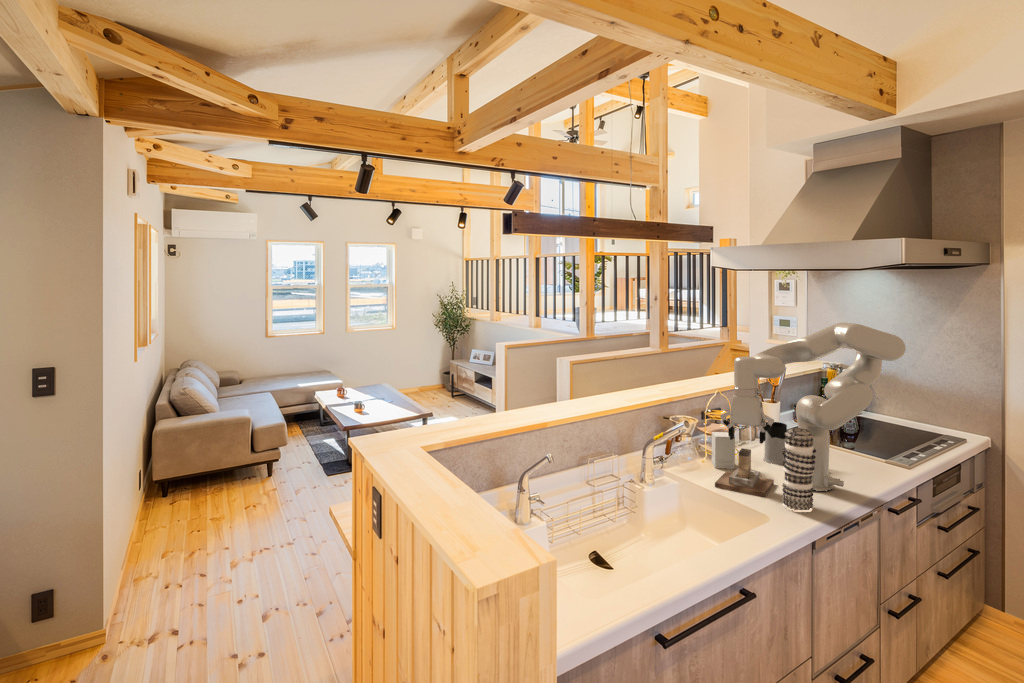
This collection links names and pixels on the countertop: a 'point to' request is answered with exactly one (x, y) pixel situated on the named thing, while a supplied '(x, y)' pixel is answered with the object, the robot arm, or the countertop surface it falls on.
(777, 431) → the glass holder
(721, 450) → the supplement box
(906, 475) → the countertop surface
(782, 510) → the countertop surface
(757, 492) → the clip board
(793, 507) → the decorative candle
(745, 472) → the brown upright block
